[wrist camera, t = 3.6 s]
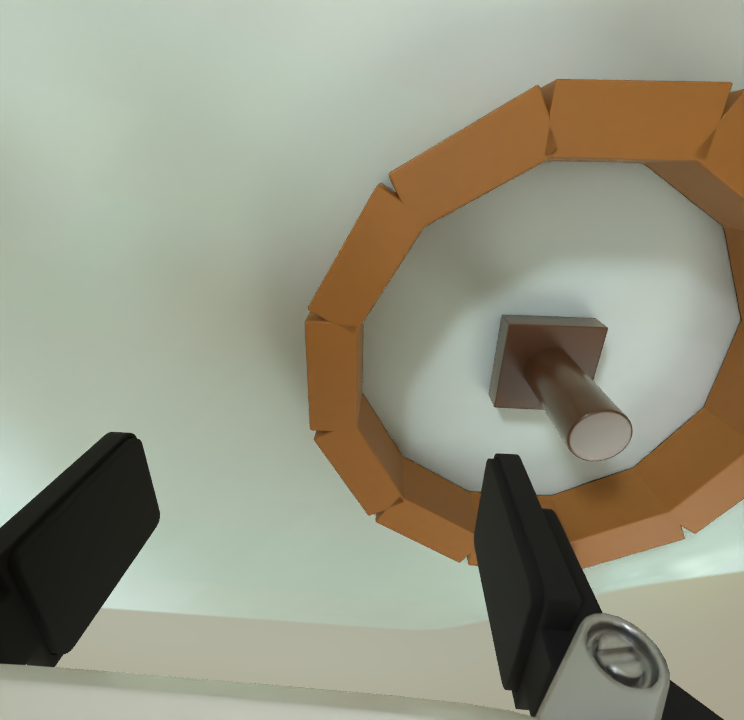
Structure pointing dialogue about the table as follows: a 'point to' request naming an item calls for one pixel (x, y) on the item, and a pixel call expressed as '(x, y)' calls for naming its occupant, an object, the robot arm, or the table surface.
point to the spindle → (559, 380)
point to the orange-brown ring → (470, 181)
